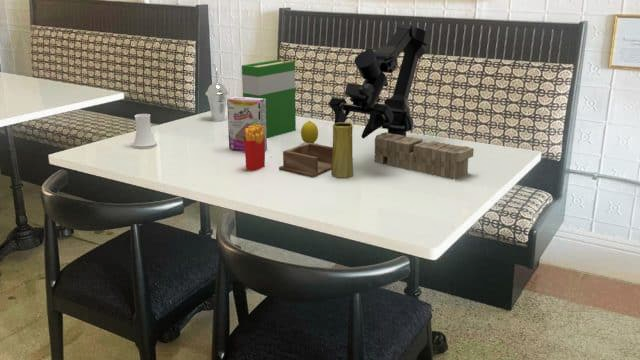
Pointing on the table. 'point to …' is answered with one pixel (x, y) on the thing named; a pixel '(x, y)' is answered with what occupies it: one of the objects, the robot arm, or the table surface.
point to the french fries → (254, 147)
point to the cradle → (308, 160)
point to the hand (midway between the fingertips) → (348, 135)
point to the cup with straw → (217, 99)
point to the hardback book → (273, 93)
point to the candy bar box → (244, 119)
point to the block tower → (422, 155)
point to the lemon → (309, 132)
